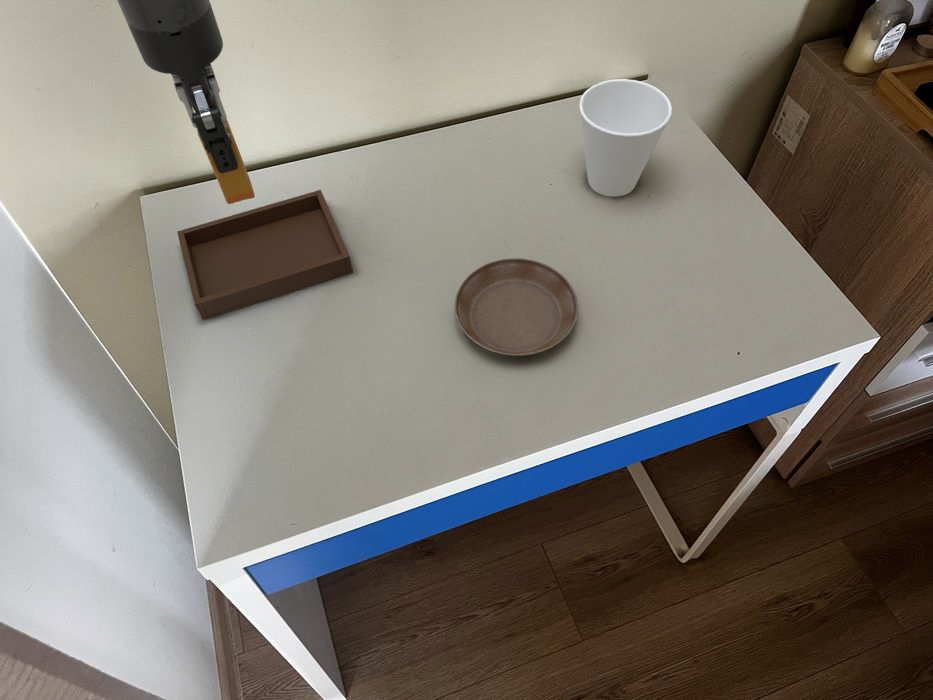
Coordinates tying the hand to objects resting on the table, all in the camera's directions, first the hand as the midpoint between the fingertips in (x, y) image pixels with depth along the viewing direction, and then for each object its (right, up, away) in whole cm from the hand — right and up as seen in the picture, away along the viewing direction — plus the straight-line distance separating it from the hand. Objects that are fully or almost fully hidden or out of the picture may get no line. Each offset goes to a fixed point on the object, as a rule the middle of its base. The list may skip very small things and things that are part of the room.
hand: (225, 157), depth 77 cm
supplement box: (0, -3, +4) cm, 5 cm away
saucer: (+33, -17, +9) cm, 38 cm away
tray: (0, -9, +16) cm, 18 cm away
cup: (+47, +3, +23) cm, 53 cm away
